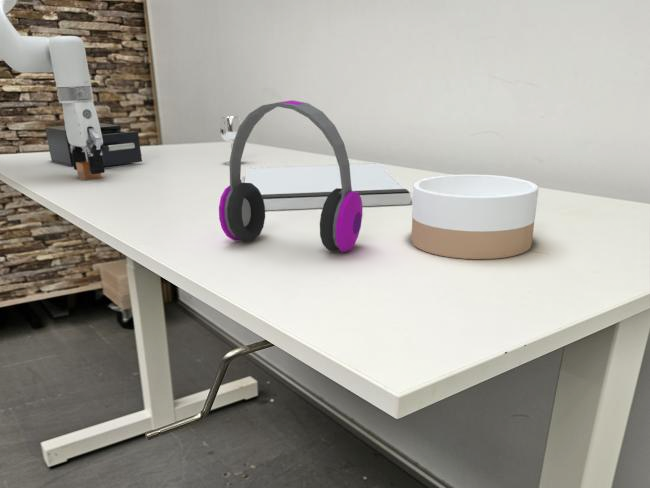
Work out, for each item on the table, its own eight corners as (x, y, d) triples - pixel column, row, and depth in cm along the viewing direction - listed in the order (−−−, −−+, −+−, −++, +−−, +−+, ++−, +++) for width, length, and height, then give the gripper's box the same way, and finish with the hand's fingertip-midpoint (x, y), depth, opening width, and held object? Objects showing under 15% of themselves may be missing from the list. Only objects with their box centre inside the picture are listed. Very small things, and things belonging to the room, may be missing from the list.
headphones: (215, 247, 89) (201, 103, 81) (246, 232, 97) (236, 99, 89) (346, 261, 81) (344, 103, 74) (368, 244, 89) (369, 99, 81)
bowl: (533, 263, 79) (541, 199, 75) (402, 255, 83) (404, 194, 80) (530, 230, 94) (536, 175, 91) (419, 225, 98) (421, 172, 95)
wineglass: (220, 163, 164) (216, 117, 159) (241, 161, 166) (237, 115, 161) (226, 166, 159) (222, 118, 154) (247, 164, 161) (244, 117, 156)
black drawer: (150, 163, 162) (146, 132, 159) (98, 169, 153) (93, 137, 150) (120, 157, 174) (115, 128, 171) (70, 163, 165) (64, 133, 162)
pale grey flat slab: (410, 191, 111) (241, 198, 109) (410, 204, 112) (242, 211, 110) (378, 162, 143) (246, 167, 141) (378, 173, 144) (247, 178, 142)
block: (85, 180, 144) (82, 163, 142) (78, 178, 147) (75, 162, 145) (101, 178, 146) (98, 161, 145) (94, 176, 149) (91, 160, 147)
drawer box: (125, 160, 173) (120, 125, 170) (71, 167, 164) (64, 130, 160) (103, 156, 183) (98, 122, 179) (51, 162, 174) (44, 127, 170)
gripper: (107, 95, 135) (120, 172, 142) (76, 94, 147) (89, 166, 154) (74, 97, 131) (89, 177, 138) (45, 95, 143) (60, 169, 149)
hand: (89, 171), depth 146 cm, fingers open, 9 cm apart
